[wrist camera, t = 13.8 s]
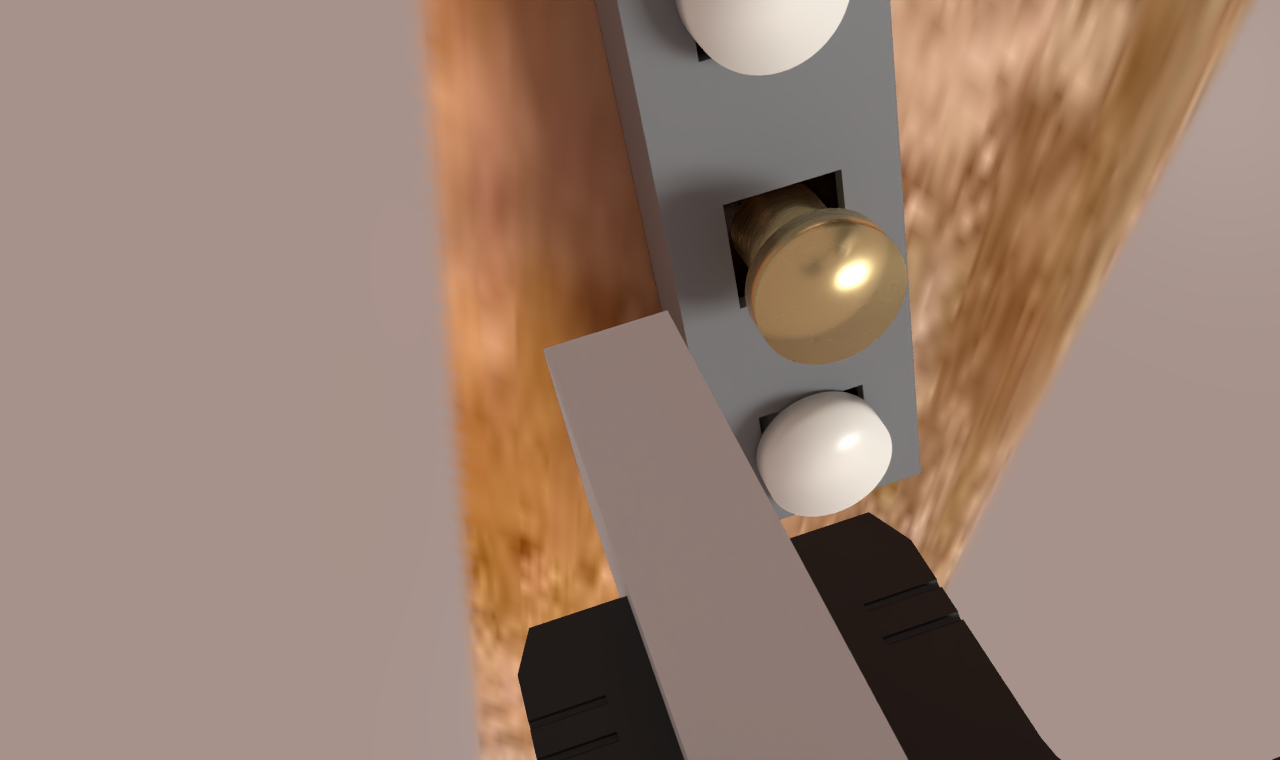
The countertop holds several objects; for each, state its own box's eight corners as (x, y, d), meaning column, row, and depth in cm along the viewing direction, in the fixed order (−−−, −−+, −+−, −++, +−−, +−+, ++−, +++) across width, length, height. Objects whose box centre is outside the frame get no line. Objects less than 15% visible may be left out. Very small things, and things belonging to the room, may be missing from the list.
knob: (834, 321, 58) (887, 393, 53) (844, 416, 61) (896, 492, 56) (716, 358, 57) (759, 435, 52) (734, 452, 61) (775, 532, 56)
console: (823, -204, 45) (878, -180, 41) (878, 414, 62) (920, 473, 58) (565, -134, 44) (596, -102, 40) (696, 473, 61) (726, 537, 58)
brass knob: (837, 139, 49) (902, 206, 44) (849, 263, 52) (911, 337, 47) (697, 181, 48) (747, 253, 43) (720, 304, 52) (768, 383, 47)
